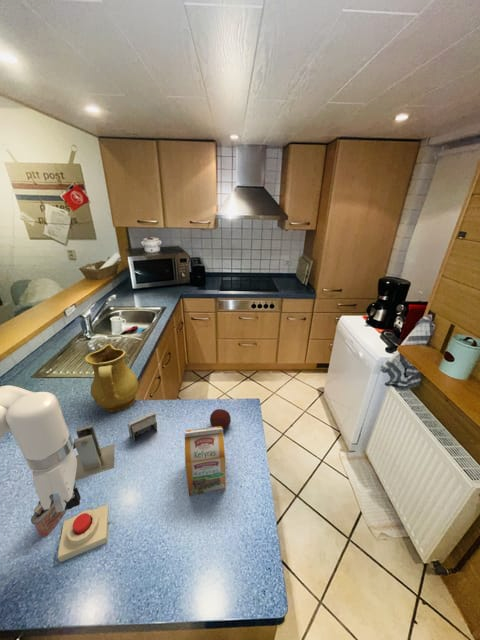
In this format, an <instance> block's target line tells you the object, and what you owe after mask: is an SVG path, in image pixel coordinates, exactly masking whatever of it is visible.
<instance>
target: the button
mask: <svg viewBox="0 0 480 640" xmlns="http://www.w3.org/2000/svg"><path fill="white" fill-rule="evenodd" d="M90 525H91V518H90V516H89V514H87V513H83V514H81V515H79V516H78V517H77V518H76V519H75V520H74V522H73V529H74V531H75V533H77V534H82V533H84V532H85V531H87V530H88V528H89V527H90Z"/></svg>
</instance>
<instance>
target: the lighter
mask: <svg viewBox="0 0 480 640" xmlns="http://www.w3.org/2000/svg"><path fill="white" fill-rule="evenodd" d="M32 511H33V515H32V516H31V518H30V522H31V524H32V525H34V527H35V529H36V530H37V532H38V534H39V535H40V537H42V538H44V537H47V536H48V535H49V534H50V533H51V532H52V531H53V530H54V529H55V528H56V527H57V526H58V524H59V523H60V522H61V520H62V519H63V517H64V516H65V514H66V512H67V511H68V509H67V510H64V511H62V512H59V513H57V512H56V508H55V505H54V501H53V500H51V505H50V509H46V510H45V509H43V507H42V505H41V503H40V500H39V499H38V503H37V505H36V506H35V507H34V509H33V510H32Z"/></svg>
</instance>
